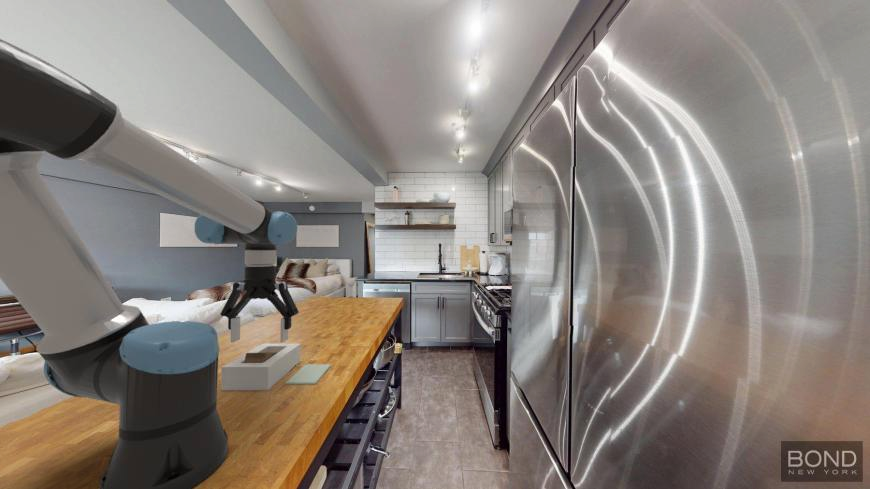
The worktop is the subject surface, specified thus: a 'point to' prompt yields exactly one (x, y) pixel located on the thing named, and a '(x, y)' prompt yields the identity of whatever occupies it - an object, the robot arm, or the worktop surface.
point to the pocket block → (260, 368)
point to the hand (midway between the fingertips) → (259, 340)
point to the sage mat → (308, 374)
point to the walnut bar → (257, 357)
